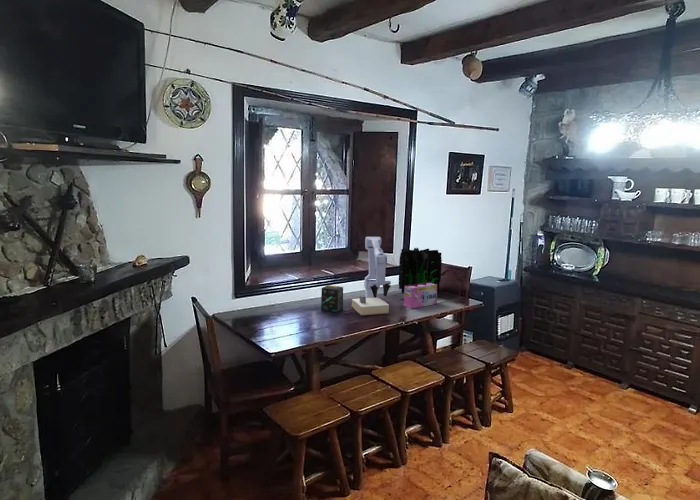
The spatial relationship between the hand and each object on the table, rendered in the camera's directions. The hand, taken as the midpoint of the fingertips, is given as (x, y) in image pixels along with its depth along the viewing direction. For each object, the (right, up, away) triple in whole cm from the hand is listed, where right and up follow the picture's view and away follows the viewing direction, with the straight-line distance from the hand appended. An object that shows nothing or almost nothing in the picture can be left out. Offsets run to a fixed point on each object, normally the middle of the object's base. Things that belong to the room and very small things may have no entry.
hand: (380, 296), depth 285 cm
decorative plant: (+32, -2, +61) cm, 69 cm away
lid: (-6, -5, +7) cm, 10 cm away
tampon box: (-30, -9, +7) cm, 32 cm away
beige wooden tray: (-6, -9, +8) cm, 14 cm away
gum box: (+28, -8, +23) cm, 37 cm away
